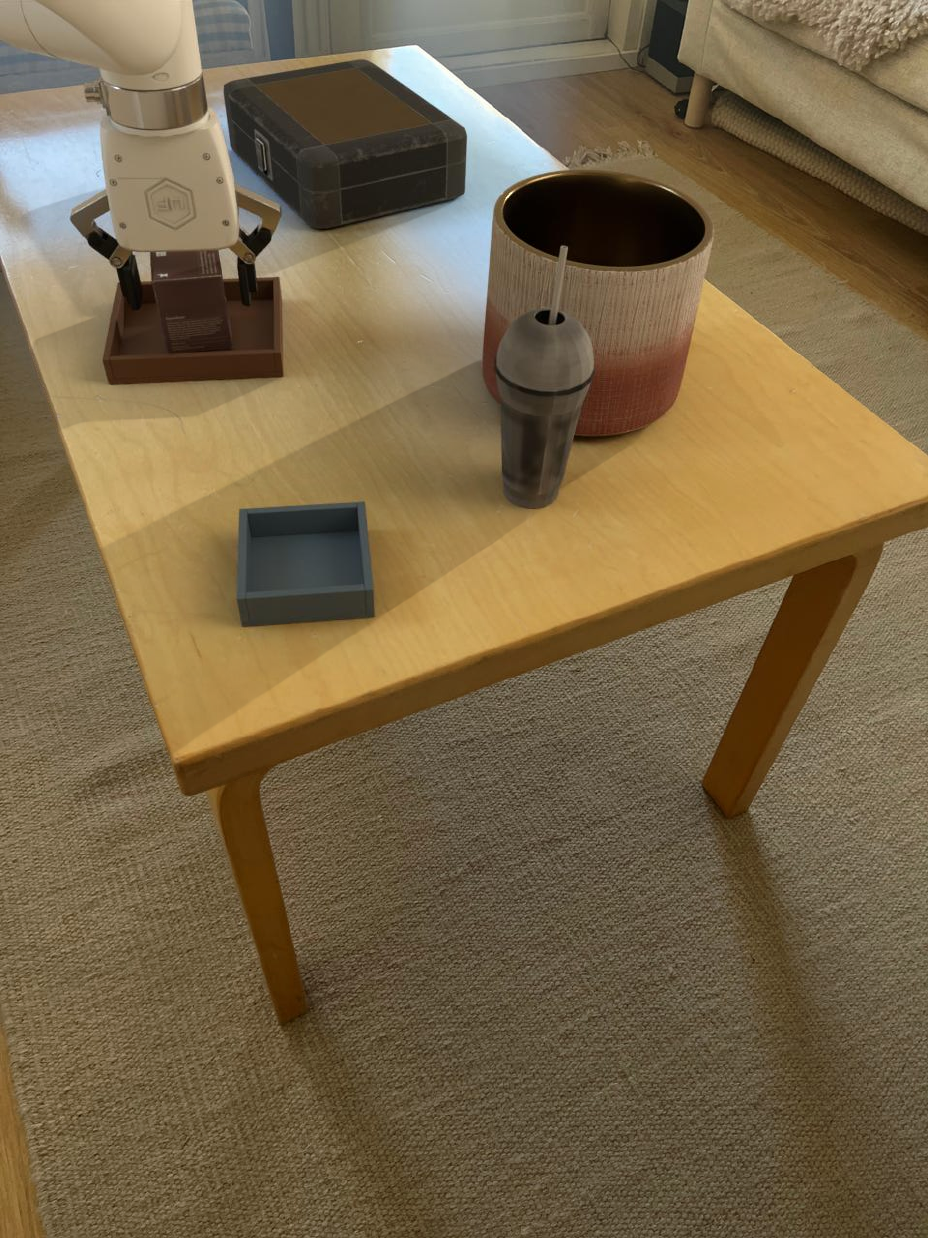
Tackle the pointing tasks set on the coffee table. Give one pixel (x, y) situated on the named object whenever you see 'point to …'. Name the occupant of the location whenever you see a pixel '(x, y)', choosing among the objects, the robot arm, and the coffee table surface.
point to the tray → (144, 358)
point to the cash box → (345, 142)
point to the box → (191, 300)
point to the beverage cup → (541, 397)
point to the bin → (304, 564)
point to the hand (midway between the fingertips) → (192, 300)
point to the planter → (604, 283)
